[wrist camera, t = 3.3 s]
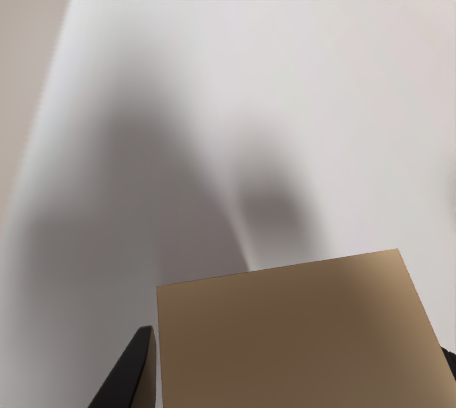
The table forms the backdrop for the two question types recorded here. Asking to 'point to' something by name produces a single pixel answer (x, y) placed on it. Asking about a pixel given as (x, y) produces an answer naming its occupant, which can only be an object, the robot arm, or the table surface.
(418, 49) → the table surface
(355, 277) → the tall oak block
